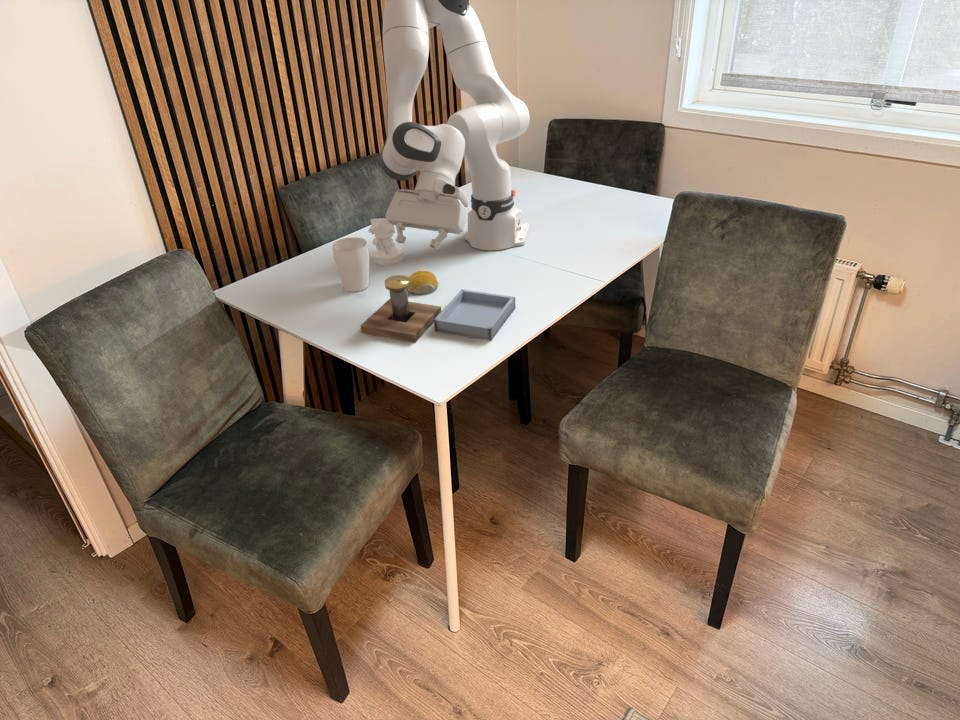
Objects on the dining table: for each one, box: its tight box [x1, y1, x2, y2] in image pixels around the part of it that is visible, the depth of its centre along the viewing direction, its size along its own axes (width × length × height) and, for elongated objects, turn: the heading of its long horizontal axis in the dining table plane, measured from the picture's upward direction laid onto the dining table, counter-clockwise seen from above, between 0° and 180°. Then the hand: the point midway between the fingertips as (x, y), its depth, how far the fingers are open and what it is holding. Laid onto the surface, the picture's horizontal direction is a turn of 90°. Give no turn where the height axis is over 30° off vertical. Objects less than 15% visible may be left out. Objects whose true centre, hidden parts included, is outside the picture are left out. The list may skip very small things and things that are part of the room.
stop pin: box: [384, 274, 410, 322], centre depth 155 cm, size 6×6×11 cm
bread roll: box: [407, 270, 439, 295], centre depth 173 cm, size 8×9×4 cm
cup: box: [331, 236, 370, 293], centre depth 172 cm, size 9×9×12 cm
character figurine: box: [367, 217, 404, 266], centre depth 187 cm, size 9×10×12 cm
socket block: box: [360, 298, 442, 343], centre depth 157 cm, size 14×14×2 cm
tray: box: [433, 289, 516, 341], centre depth 157 cm, size 16×14×3 cm
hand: (416, 245), depth 158 cm, fingers open, 8 cm apart
